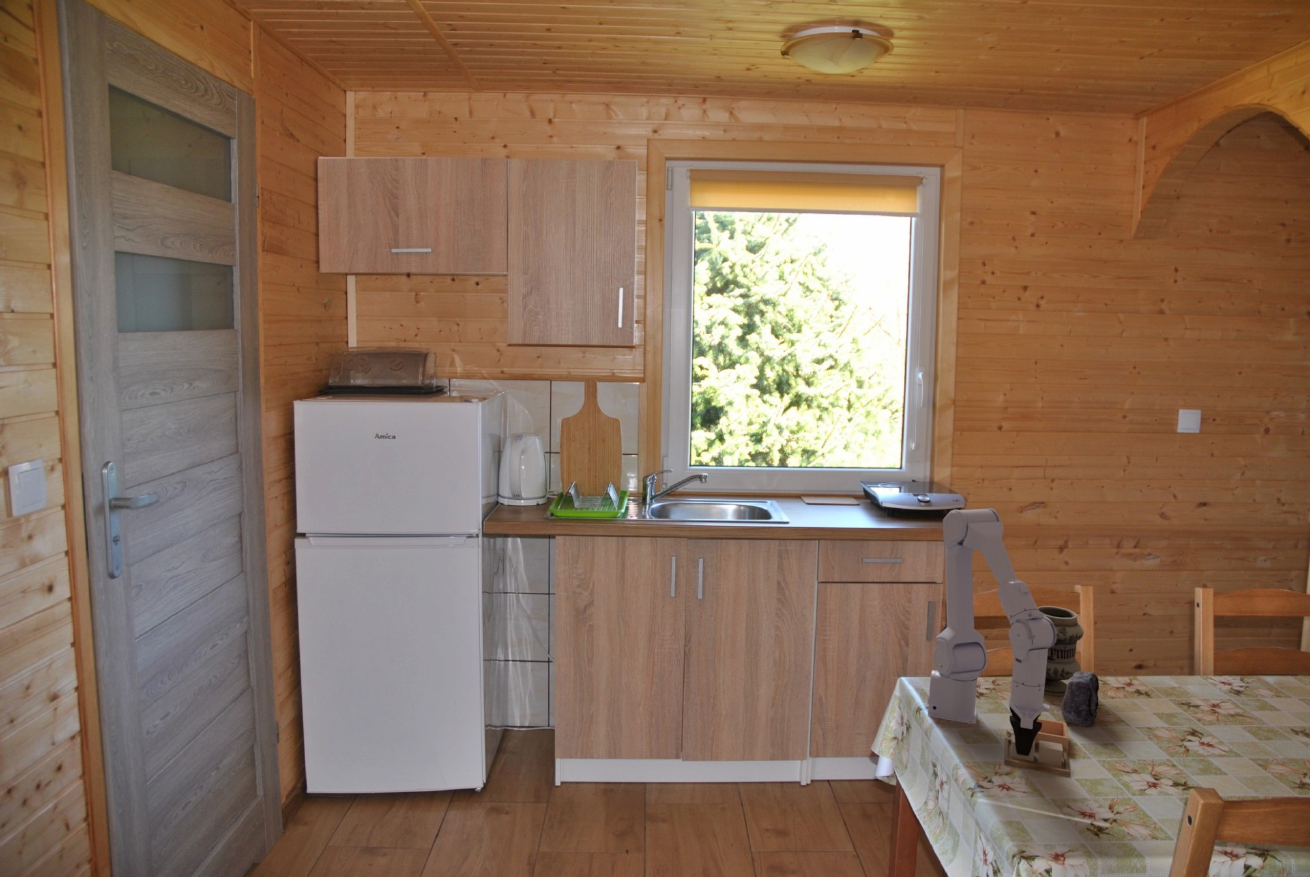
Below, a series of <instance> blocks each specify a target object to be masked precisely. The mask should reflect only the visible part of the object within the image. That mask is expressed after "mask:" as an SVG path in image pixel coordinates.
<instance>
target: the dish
mask: <svg viewBox="0 0 1310 877" xmlns="http://www.w3.org/2000/svg"><path fill="white" fill-rule="evenodd" d="M1036 722H1042V728H1041V730H1040V731H1039V732H1038V733H1037V735H1036V737H1035V739H1034V740H1035V743H1038V744H1039V740H1041V741H1047V742H1053V743H1058V744H1062V748H1066V751H1067V753H1068V751H1069V740H1070V739H1069V733H1068V732H1069V730H1068V726H1067V722H1065V721H1064V722H1063V721H1059V720H1053V719H1048V718H1047V719H1045V718H1040V717H1039V718H1038V719H1037V721H1036ZM1013 736H1015V735H1014V734H1013Z"/></svg>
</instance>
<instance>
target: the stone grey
mask: <svg viewBox="0 0 1310 877" xmlns="http://www.w3.org/2000/svg"><path fill="white" fill-rule="evenodd" d="M1011 739H1012V740H1011V757H1014V758H1019V759H1025V760H1030V761H1034V751H1035V740H1034V742H1033V745H1032V748H1031V751H1030V754H1029V756H1024V755H1019V754H1017V752H1016V745H1015V736H1014V735H1011Z"/></svg>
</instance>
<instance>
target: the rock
mask: <svg viewBox="0 0 1310 877" xmlns="http://www.w3.org/2000/svg"><path fill="white" fill-rule="evenodd" d="M1099 690H1100V683H1099V677H1098V676H1097V675H1096V674H1095V673H1094V672H1092V671H1088V672H1087V671H1086V672H1084V671H1081V670H1080V671H1079V672H1076V673H1074V675H1073V677H1071V678H1070V679H1068V681H1067V689H1066V692H1065V696H1063V699H1062V703H1061V707H1060V709H1061V715H1062V718H1063V720H1064V722H1065V723H1066V724H1067V723H1068V724H1072V725H1076V726H1077V725H1078V726H1079V727H1092V726H1093V725H1094V723H1095V721H1096V718H1097V714H1098V707H1099Z"/></svg>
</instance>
